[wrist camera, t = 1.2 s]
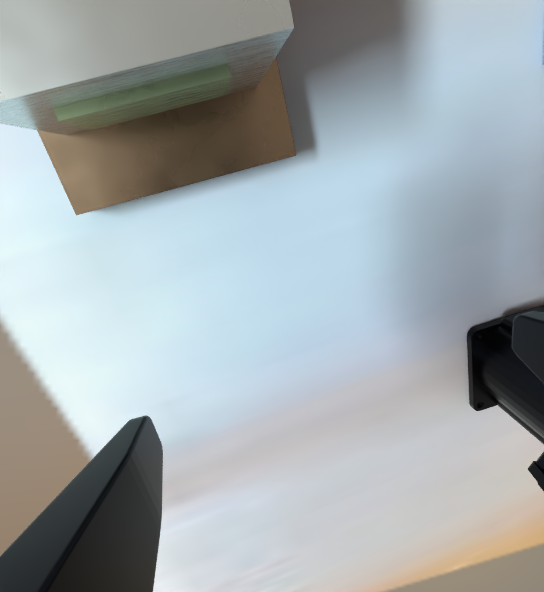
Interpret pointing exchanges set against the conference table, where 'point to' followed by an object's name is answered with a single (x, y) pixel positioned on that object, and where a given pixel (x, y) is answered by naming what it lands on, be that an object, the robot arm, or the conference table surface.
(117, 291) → the conference table surface
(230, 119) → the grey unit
